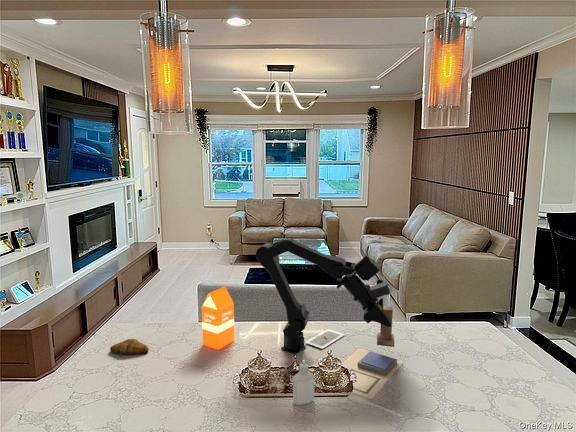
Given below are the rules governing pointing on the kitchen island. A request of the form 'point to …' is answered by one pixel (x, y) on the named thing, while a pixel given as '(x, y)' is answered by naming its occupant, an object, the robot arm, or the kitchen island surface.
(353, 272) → the robot arm
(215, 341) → the orange juice
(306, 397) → the eye dropper bottle
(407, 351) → the kitchen island surface
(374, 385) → the board
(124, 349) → the croissant
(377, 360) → the ink pad
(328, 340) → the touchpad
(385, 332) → the walnut stamp
